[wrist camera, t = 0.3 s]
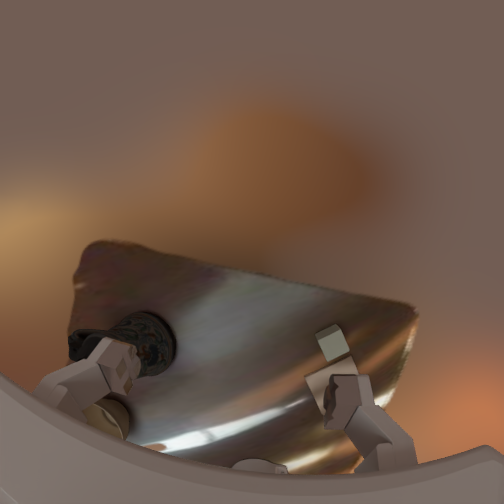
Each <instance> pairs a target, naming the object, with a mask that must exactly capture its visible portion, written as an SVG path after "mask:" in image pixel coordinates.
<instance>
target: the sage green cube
mask: <svg viewBox="0 0 504 504" xmlns="http://www.w3.org/2000/svg"><path fill="white" fill-rule="evenodd" d="M315 336H316V338H317V340H318V343H319V345H320V347H321V349H322V351H323V354H324V356H325V358H326V360H327V362H328V361H330V360H332V359H334V358H336V357H338V356H340V355H342V354H344V353H346V352H348V351H350V350H349V347H348V345H347V343H346V340H345V338H344V335H343V333H342V331H341V329H340V328H339V327H338V326H337V325H336V324H334V325H332V326H330V327H328V328H326V329H324V330H322V331H320V332H318V333H316V334H315Z"/></svg>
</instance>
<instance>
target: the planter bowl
mask: <svg viewBox="0 0 504 504" xmlns="http://www.w3.org/2000/svg"><path fill="white" fill-rule="evenodd" d="M82 412H83V413H84V415H85V416H86V418H87V423H86V424H88V425H90V426H92V427H94V428H96V429H99V430H101V431H103V432H106V433H108V434H110V435H113V436H115V437H118V438H120V439H123V440H126V438H127V436H128V433H129V414H128V412H127V410H126V409H125V407H124V406H123V405H122V404H120V403H119V402H117V401H115V400H111V399H110V400H108V399H102V398H101V399H99V400H98V401H96V402H95V403H93V404H92V405H90V406H89V407H87V408H86V409H84V410H82Z"/></svg>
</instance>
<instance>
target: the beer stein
mask: <svg viewBox="0 0 504 504" xmlns="http://www.w3.org/2000/svg"><path fill="white" fill-rule="evenodd" d="M105 337H108V338H111V339H115V340H118V341H121V342H125V343H128V344H131V345H134V346H136V349H137V353H136V355H137V356H138V357H139V359H140V362H141V369H140V373H139V375H138V377H137V378H136V379H138V378H141V377H145V376H155V375H158V374H160V373H162V372H164V371H165V370H166V369H167V368H168V367H169V365H170V363H171V361H172V360H173V358H174V356H175V350H176V339H175V337H174V335H173V333H172V331H171V329H170V327H169V326H168V325H167V324H166V323H165V322H164V321H163V320H162V319H161V318H159V317H158V316H155V315H152V314H149V313H144V312H136V313H132V314H130V315H128V316H126V317H125V318H124V319H123V320H122V321H121V323H120V324H118V325H116V326H114V327H113V328H111V329H109V330H108V331H104V330H95V329H79V330H76V331H74V332H73V333H72V334H71V336H69V337H68V344H69V358H70V359H71V360H73V361H76V362H78V361H80V360H82V359H86V360H87V358H88V357H89V356H90V354H91V353H92V352H93V350H94V349H95V348H96V346H97V345H98V344H99V343H100V341H101V340H102V339H103V338H105ZM134 380H135V379H134ZM111 392H113V391H111Z"/></svg>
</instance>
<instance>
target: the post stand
mask: <svg viewBox="0 0 504 504" xmlns="http://www.w3.org/2000/svg"><path fill="white" fill-rule="evenodd" d="M332 374H355V375H356V374H359V373H358V371H357V368H356V366H355V364H354V361H353V359H352V356H351V355H348V356H346V357H344V358H342V359H340V360H338V361H336V362H334V363H332V364H330V365H328V366H325V367H323V368H321V369H319V370H317V371H315V372H312V373H310V374H308V375H305V376H304V377H305V380H306V382H307V384H308V386H309V388H310V390H311V392H312V394H313V396H314V398H315V400H316V402H317V405H318V407H319V409H320V411H321V413H322V415H324V414H325V412H326V410H325V409H324V408H323V397H324V392H325V389H326V386H328V385H329V378H330V376H331V375H332Z"/></svg>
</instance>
